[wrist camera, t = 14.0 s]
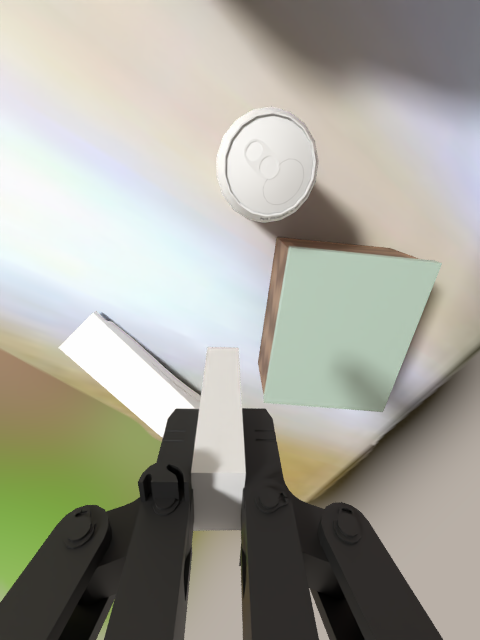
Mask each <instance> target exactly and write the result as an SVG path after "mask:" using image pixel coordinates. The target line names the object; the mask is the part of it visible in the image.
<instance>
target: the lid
mask: <svg viewBox="0 0 480 640" xmlns="http://www.w3.org/2000/svg"><path fill="white" fill-rule="evenodd" d="M441 265H442V263H440V262H437V261H433V260H423V259H413V258H403V257H394V256H384V255H374V254H364V253H355V252H345V251H335V250H325V249H316V248H306V247H296V246H289V248H288V254H287V260H286V266H285V272H284V278H283V284H282V290H281V296H280V302H279V308H278V314H277V320H276V325H275V331H274V337H273V343H272V349H271V355H270V361H269V367H268V373H267V379H266V385H265V391H264V403H273V404H286V405H299V406H312V407H325V408H338V409H351V410H364V411H377V412H383V411H384V408H385V406H386V403H387V401H388V398H389V396H390V393H391V391H392V388H393V386H394V383H395V380H396V378H397V375H398V373H399V370H400V368H401V365H402V363H403V360H404V358H405V355H406V353H407V350H408V348H409V345H410V343H411V340H412V338H413V335H414V333H415V330H416V328H417V325H418V323H419V320H420V317H421V315H422V312H423V310H424V307H425V305H426V302H427V300H428V297H429V295H430V292H431V290H432V287H433V285H434V282H435V280H436V277H437V275H438V272H439V270H440V267H441Z"/></svg>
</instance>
